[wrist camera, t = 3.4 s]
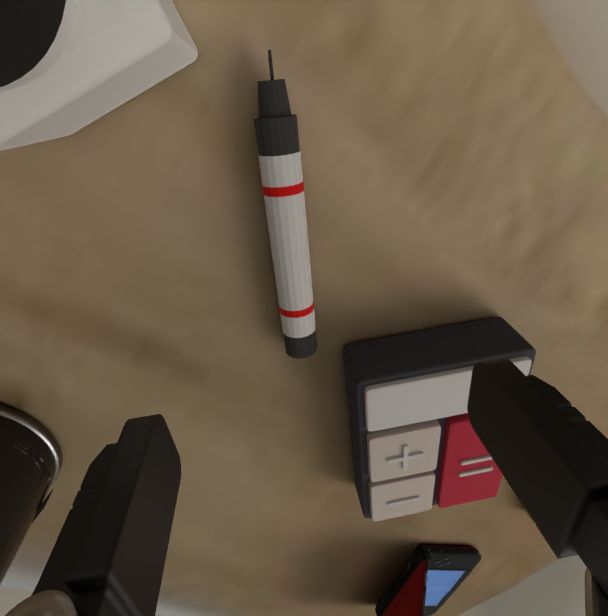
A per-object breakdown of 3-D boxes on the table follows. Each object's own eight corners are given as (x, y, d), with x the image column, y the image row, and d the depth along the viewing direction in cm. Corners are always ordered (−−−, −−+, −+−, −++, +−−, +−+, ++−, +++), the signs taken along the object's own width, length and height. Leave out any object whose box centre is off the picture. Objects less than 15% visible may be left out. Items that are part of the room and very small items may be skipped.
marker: (314, 337, 24) (319, 356, 23) (284, 342, 24) (286, 361, 22) (288, 51, 17) (293, 45, 15) (243, 54, 17) (243, 50, 15)
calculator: (366, 530, 29) (359, 391, 21) (352, 479, 33) (341, 344, 25) (503, 501, 30) (547, 355, 22) (475, 454, 33) (504, 314, 25)
